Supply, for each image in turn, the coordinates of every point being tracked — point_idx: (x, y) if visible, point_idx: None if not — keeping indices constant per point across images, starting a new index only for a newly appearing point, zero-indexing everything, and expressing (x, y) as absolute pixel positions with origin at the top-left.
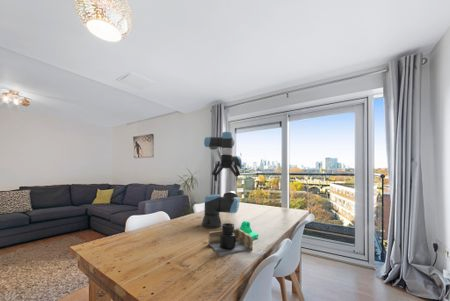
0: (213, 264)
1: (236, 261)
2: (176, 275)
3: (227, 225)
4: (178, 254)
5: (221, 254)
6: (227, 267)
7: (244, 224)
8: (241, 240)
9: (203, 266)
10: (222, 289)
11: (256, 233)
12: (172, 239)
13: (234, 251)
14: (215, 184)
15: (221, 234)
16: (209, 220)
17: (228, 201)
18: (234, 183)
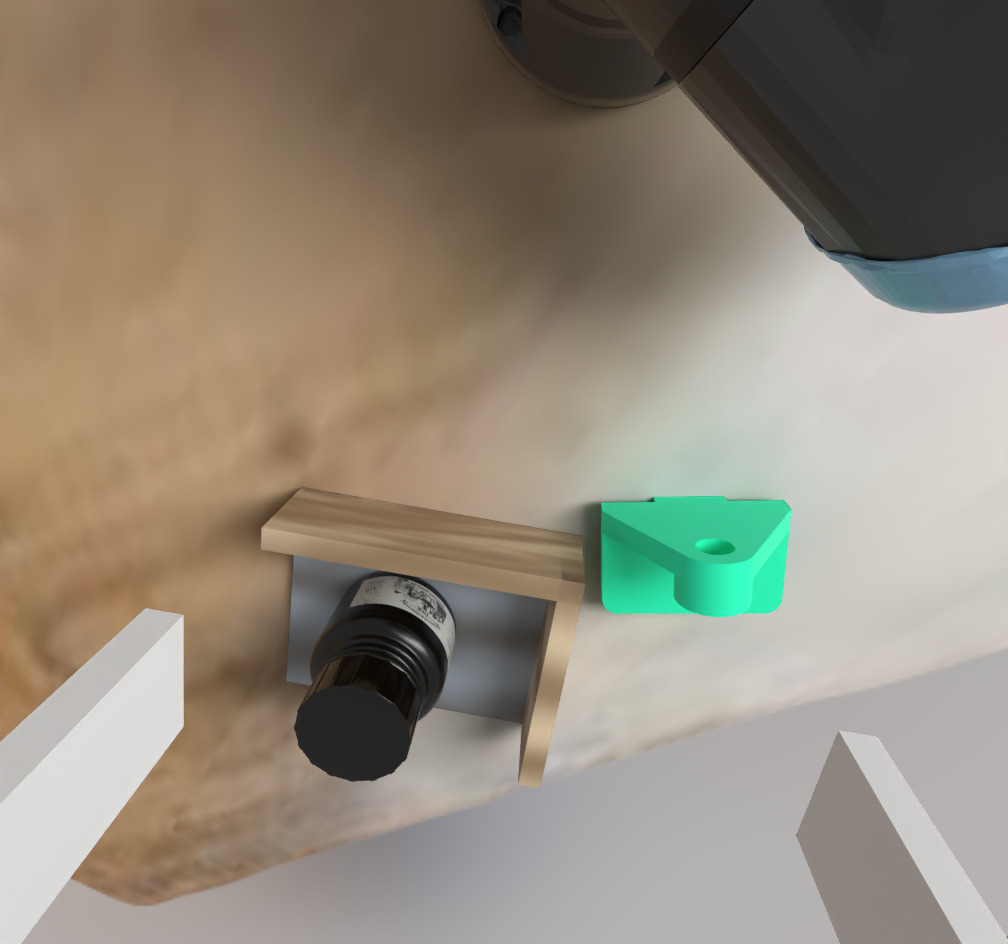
0: (211, 734)
1: None
2: (2, 724)
3: (335, 744)
4: (43, 527)
5: (301, 680)
6: (267, 790)
7: (678, 589)
8: (543, 623)
9: None
10: (166, 891)
11: (779, 586)
12: (34, 218)
13: None
14: (118, 637)
15: (315, 664)
16: (522, 20)
17: (853, 174)
18: (846, 851)
